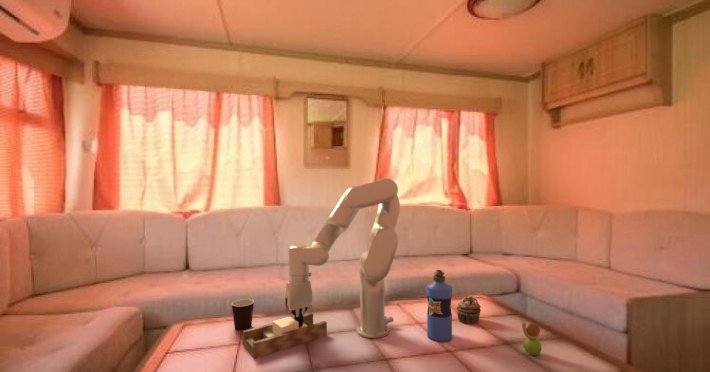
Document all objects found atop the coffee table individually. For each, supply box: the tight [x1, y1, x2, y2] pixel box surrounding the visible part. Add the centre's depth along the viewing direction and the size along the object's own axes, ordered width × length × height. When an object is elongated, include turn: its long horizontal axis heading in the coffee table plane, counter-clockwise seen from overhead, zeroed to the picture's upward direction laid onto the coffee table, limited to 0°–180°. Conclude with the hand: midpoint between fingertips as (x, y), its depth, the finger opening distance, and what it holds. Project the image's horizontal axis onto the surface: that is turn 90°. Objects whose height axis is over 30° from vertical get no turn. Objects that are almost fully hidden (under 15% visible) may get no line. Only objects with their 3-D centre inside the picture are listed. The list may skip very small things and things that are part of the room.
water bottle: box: [426, 269, 453, 343], centre depth 125 cm, size 9×9×25 cm
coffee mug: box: [231, 298, 255, 332], centre depth 136 cm, size 12×9×10 cm
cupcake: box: [455, 296, 481, 326], centre depth 139 cm, size 10×10×10 cm
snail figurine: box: [520, 318, 543, 356], centre depth 111 cm, size 5×6×12 cm
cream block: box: [272, 316, 299, 335], centre depth 123 cm, size 7×7×4 cm
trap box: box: [242, 312, 328, 359], centre depth 123 cm, size 28×12×5 cm, turn 127°
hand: (298, 325), depth 126 cm, fingers closed
